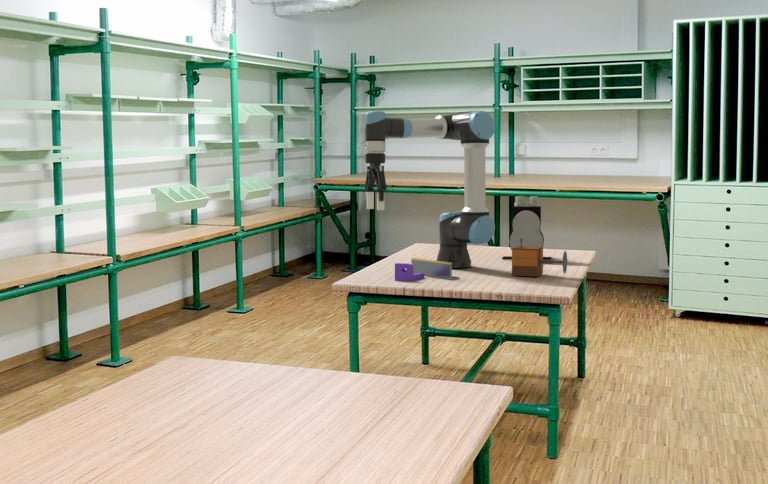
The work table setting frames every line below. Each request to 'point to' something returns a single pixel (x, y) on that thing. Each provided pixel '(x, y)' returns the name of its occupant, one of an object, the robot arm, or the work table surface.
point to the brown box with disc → (531, 261)
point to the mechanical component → (526, 224)
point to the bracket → (406, 273)
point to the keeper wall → (433, 268)
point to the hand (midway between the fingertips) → (375, 209)
